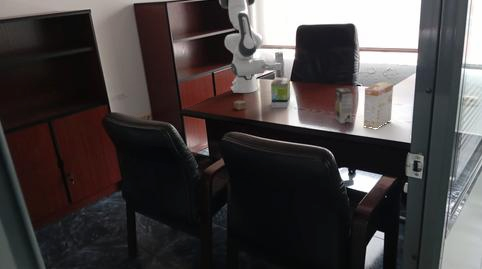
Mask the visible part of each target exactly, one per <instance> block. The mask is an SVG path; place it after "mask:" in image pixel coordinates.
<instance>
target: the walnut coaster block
mask: <svg viewBox="0 0 482 269" xmlns="http://www.w3.org/2000/svg"><path fill="white" fill-rule="evenodd" d="M233 104H234V106H233V107H234V110H235V109H236V110H238V111H241V110H245V109H247V101H244V100H237V101H234V102H233Z"/></svg>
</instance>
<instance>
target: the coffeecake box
mask: <svg viewBox="0 0 482 269" xmlns="http://www.w3.org/2000/svg"><path fill="white" fill-rule="evenodd" d="M393 88H394V83H389V82H383V81H382V82H378V83H375V84H373V85H371V86H368V87H366V88H364V106H363V107H364V108H363V110H364V111H363V127H364V126H366V127H372V128H378V127H379V126H381V125H383V124H385V123H387V122H388V121H390V120H391V121H392V108H393V107H392V106H393V94H394V93H393V92H394V89H393ZM387 124H388V123H387ZM378 129H379V128H378Z"/></svg>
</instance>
